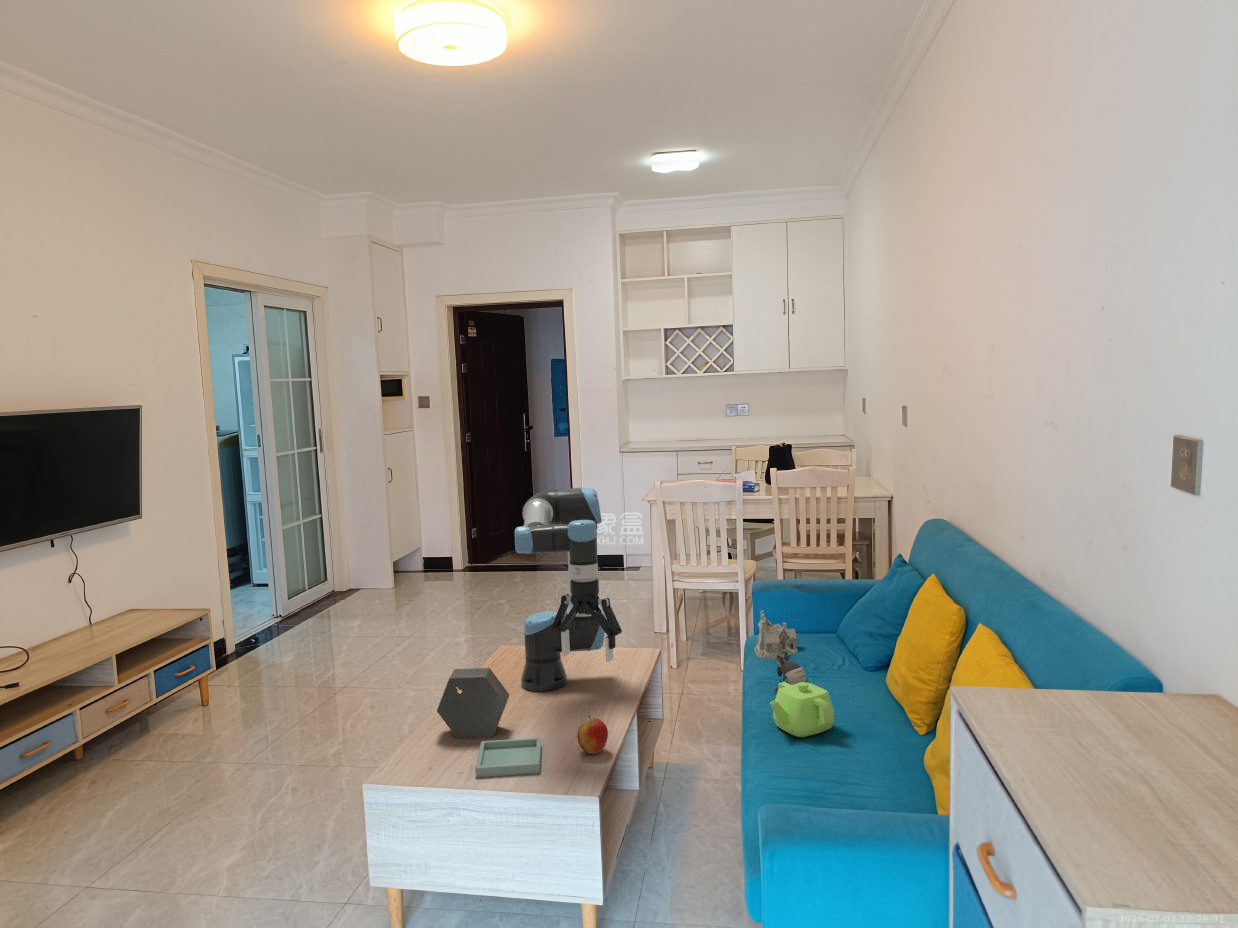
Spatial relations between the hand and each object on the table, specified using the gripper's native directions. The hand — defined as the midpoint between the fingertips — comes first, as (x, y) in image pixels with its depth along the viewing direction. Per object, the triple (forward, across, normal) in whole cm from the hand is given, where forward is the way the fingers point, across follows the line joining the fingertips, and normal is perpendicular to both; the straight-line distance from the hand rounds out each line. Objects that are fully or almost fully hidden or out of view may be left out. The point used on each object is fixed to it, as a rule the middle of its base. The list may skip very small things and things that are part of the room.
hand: (587, 657), depth 215 cm
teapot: (+25, +47, +34) cm, 63 cm away
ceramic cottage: (+24, +20, +96) cm, 101 cm away
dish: (+25, -16, -15) cm, 33 cm away
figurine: (+24, +37, +61) cm, 76 cm away
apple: (+25, +2, -2) cm, 25 cm away
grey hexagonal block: (+25, -36, -4) cm, 44 cm away
